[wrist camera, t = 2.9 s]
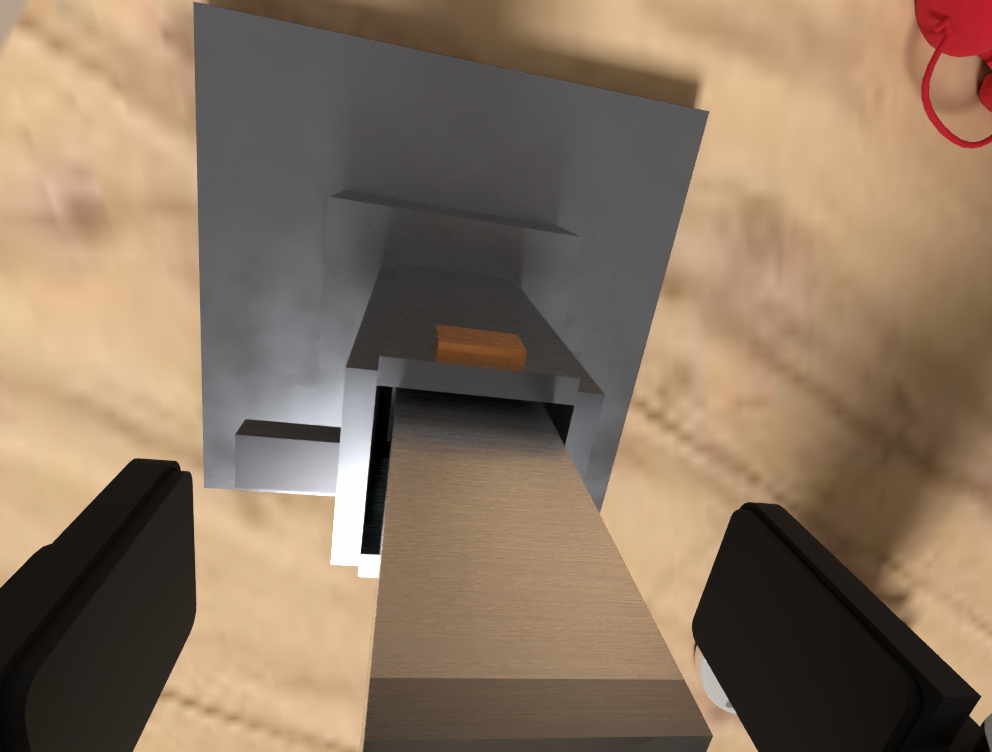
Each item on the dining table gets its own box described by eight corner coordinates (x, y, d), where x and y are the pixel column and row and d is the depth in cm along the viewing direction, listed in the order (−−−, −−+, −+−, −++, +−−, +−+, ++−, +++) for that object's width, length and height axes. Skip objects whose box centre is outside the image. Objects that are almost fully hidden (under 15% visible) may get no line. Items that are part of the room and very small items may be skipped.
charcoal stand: (692, 114, 24) (1087, 48, 10) (591, 497, 31) (739, 784, 17) (208, 12, 21) (-265, -322, 6) (215, 471, 27) (-6, 809, 13)
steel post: (495, 302, 20) (726, 728, 5) (481, 385, 22) (635, 936, 6) (403, 290, 20) (353, 732, 4) (394, 376, 21) (327, 963, 6)
